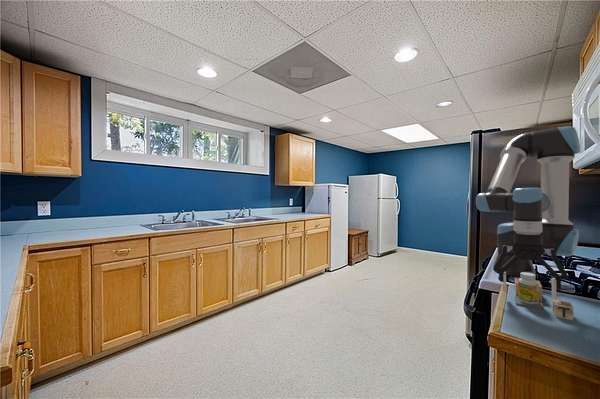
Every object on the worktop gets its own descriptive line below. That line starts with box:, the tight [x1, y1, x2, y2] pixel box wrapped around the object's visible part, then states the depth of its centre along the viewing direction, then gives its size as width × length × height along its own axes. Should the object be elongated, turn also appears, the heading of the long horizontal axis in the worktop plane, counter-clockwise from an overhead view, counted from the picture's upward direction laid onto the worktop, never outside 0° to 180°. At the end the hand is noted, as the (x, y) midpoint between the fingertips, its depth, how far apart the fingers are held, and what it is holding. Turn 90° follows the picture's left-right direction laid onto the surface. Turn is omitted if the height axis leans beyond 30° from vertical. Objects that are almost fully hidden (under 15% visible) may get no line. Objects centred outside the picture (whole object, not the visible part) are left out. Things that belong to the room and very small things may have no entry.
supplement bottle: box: [518, 272, 539, 304], centre depth 91 cm, size 5×5×10 cm
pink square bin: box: [514, 277, 543, 302], centre depth 97 cm, size 7×7×5 cm
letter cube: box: [552, 299, 574, 321], centre depth 81 cm, size 4×4×4 cm
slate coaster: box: [514, 295, 545, 310], centre depth 91 cm, size 7×7×1 cm
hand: (528, 294), depth 91 cm, fingers open, 12 cm apart
